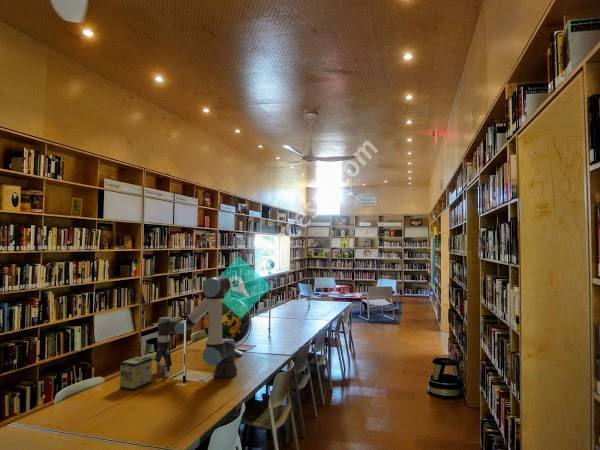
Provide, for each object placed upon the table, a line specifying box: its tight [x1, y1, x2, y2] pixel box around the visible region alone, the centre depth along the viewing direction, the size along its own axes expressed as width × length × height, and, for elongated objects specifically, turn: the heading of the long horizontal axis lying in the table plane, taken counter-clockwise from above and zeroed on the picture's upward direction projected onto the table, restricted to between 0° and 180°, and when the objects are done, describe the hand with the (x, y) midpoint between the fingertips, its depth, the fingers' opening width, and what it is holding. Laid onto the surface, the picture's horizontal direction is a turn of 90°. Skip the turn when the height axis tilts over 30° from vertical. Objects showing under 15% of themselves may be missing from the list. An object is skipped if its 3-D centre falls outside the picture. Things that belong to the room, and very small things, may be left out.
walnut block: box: [156, 361, 166, 377], centre depth 270 cm, size 6×6×7 cm
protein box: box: [119, 356, 153, 392], centre depth 248 cm, size 10×16×16 cm
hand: (162, 374), depth 270 cm, fingers open, 12 cm apart
